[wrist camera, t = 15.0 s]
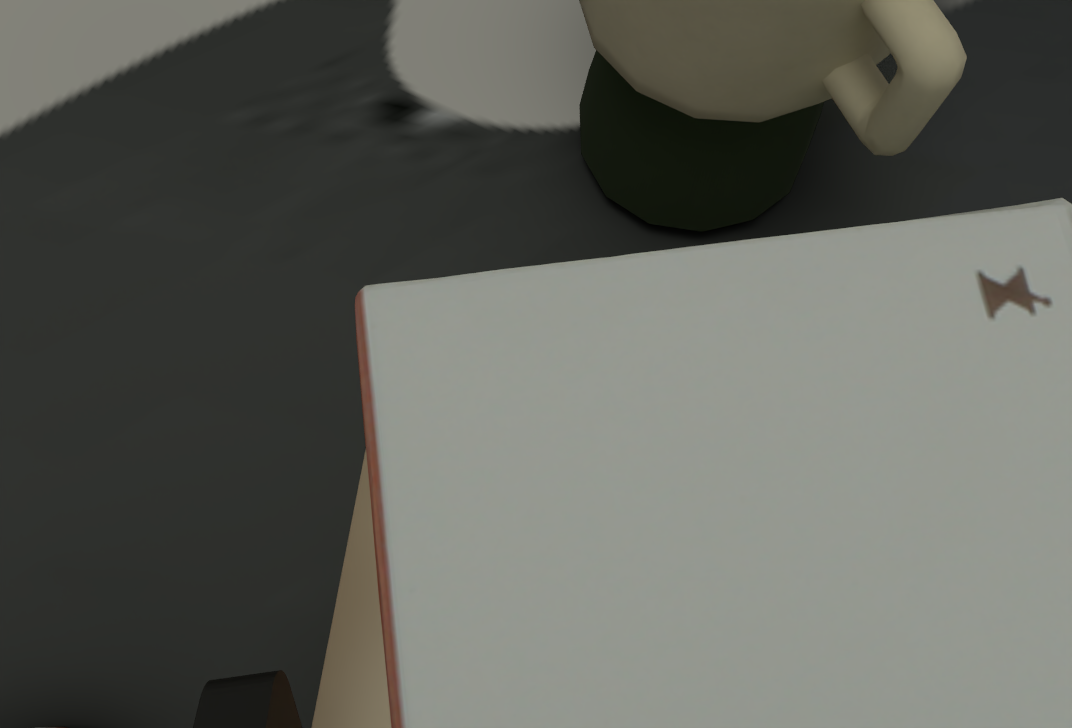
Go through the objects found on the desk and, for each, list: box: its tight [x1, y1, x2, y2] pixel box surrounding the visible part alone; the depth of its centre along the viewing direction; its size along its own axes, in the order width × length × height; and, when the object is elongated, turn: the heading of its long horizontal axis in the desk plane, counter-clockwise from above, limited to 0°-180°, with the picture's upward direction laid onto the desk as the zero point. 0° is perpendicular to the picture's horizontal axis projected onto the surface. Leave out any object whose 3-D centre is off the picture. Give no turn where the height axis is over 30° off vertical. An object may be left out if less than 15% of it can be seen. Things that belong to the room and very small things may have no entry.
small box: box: [355, 198, 1072, 728], centre depth 13 cm, size 8×6×13 cm
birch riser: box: [312, 451, 391, 728], centre depth 22 cm, size 11×11×5 cm
